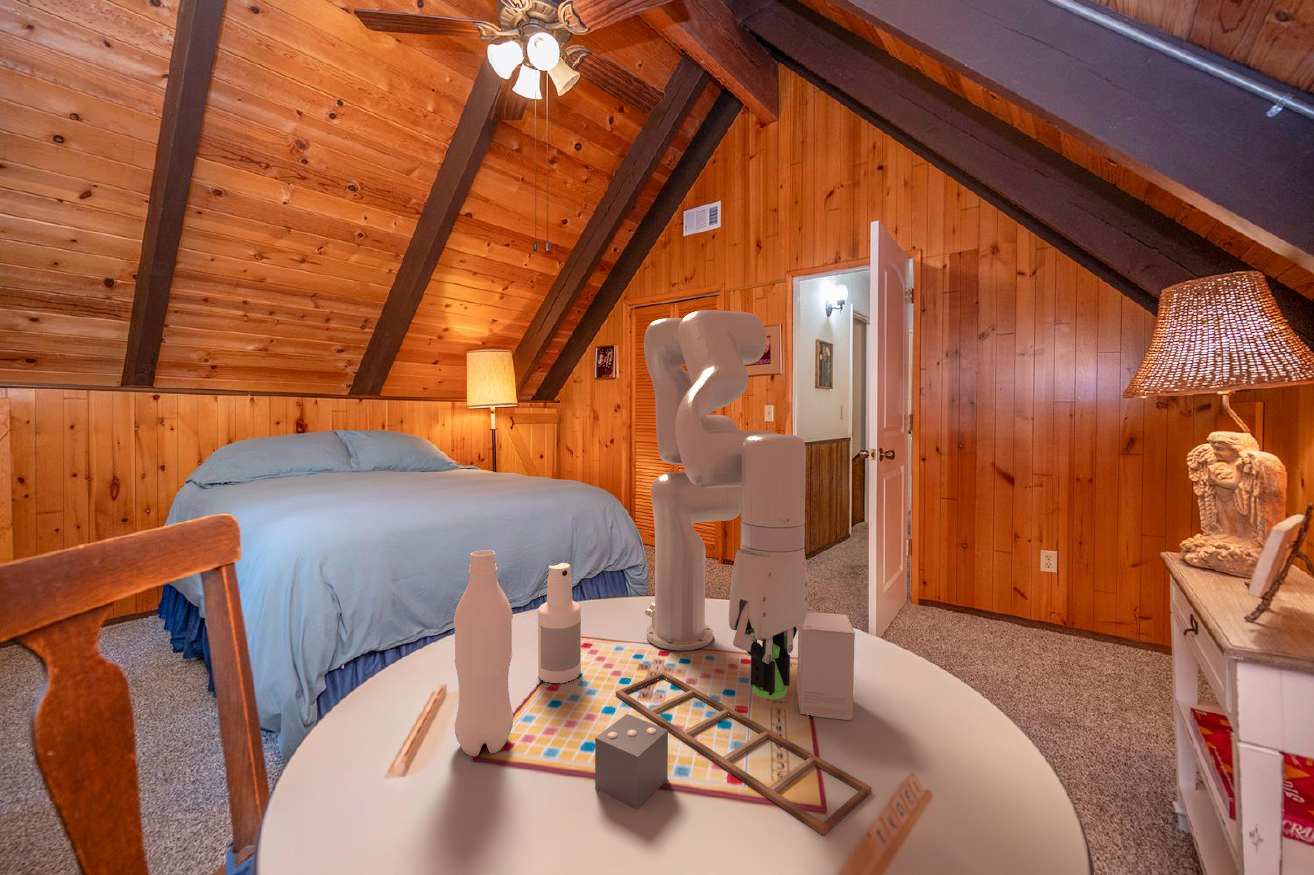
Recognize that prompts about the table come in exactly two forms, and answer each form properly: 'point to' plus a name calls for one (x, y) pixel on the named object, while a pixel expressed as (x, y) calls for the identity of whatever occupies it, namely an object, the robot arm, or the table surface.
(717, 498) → the robot arm
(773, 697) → the game piece
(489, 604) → the water bottle
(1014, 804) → the table surface
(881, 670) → the table surface
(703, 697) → the track board
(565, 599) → the spray bottle
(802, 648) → the supplement box
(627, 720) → the die
